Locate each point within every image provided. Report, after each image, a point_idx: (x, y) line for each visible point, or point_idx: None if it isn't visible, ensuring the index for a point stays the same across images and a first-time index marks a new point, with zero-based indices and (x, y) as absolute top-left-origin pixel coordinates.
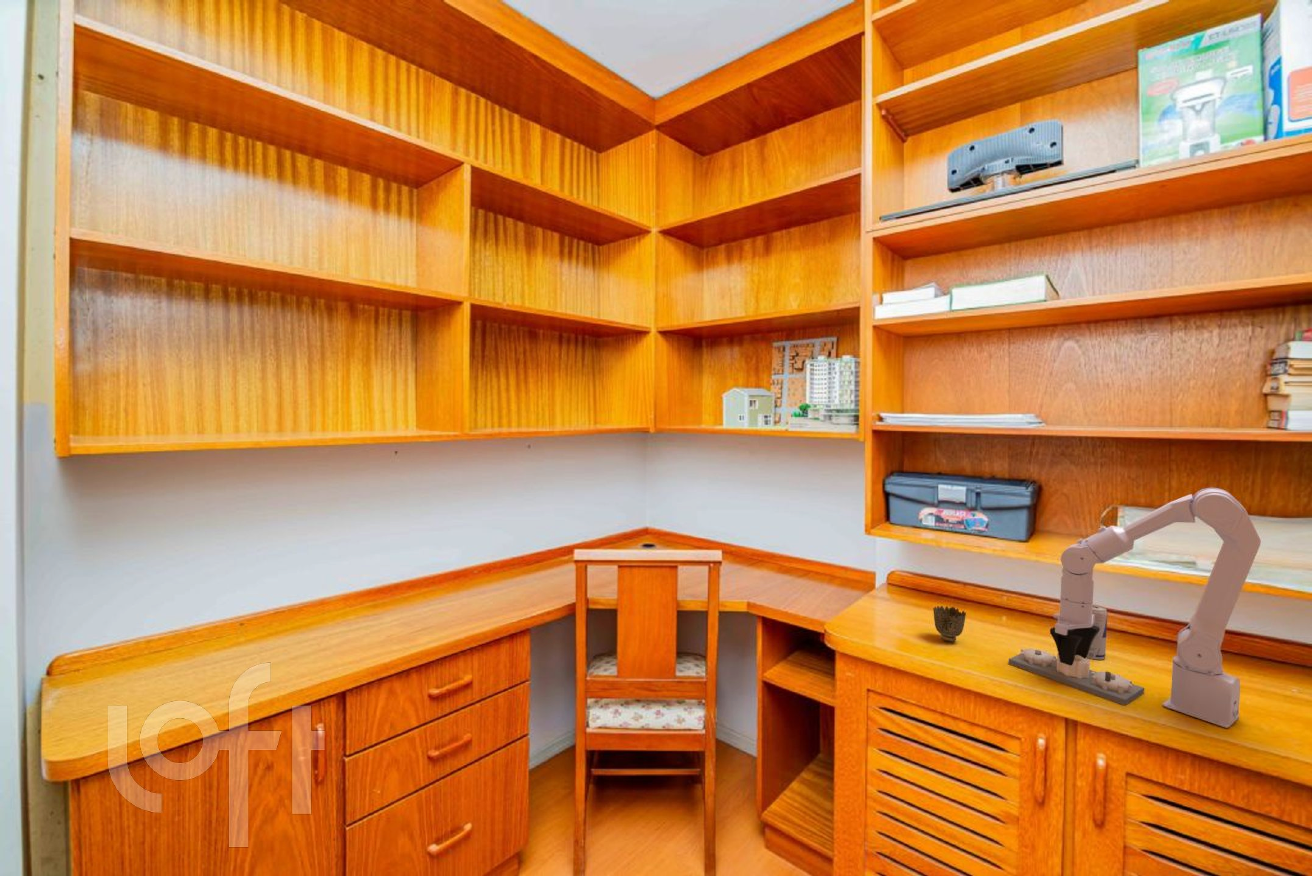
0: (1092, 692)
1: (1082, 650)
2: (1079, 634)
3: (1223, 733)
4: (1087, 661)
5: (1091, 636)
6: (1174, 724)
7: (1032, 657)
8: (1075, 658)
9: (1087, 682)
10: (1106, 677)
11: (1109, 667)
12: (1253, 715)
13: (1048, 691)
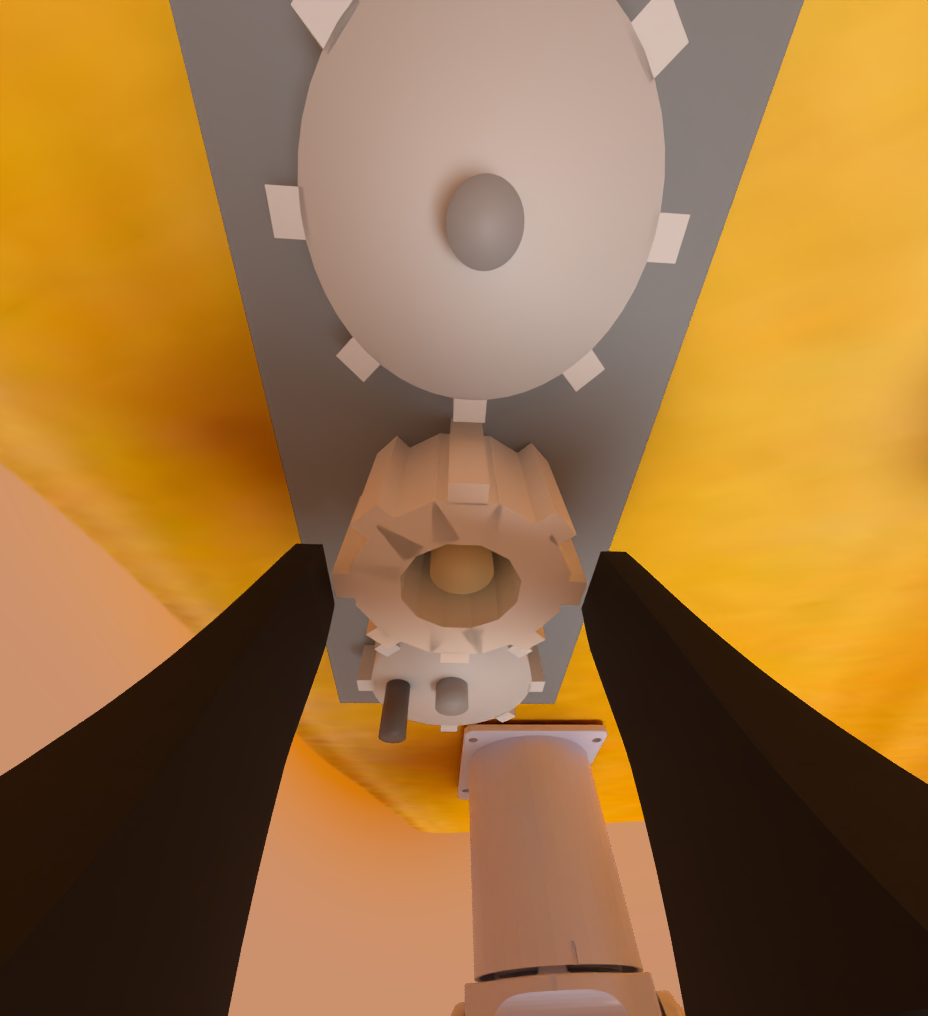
0: None
1: (609, 647)
2: (715, 823)
3: (421, 788)
4: (486, 650)
5: (669, 894)
6: (354, 749)
7: (295, 226)
8: (517, 575)
9: None
10: (384, 704)
11: (821, 547)
12: (617, 793)
13: (86, 482)
